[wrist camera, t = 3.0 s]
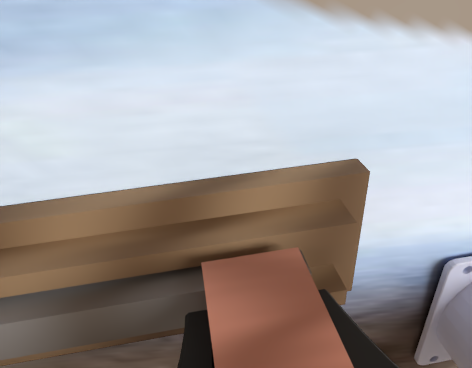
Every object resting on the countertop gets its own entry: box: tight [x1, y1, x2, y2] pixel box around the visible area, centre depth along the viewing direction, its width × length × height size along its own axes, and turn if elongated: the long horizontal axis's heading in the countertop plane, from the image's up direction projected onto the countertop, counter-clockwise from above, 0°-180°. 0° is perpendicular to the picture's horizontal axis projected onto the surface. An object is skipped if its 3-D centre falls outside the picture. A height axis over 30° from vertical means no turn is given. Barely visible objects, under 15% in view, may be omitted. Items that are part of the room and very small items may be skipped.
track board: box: [0, 159, 370, 366], centre depth 14 cm, size 14×6×2 cm, turn 93°
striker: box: [0, 247, 354, 368], centre depth 11 cm, size 15×8×8 cm, turn 93°
